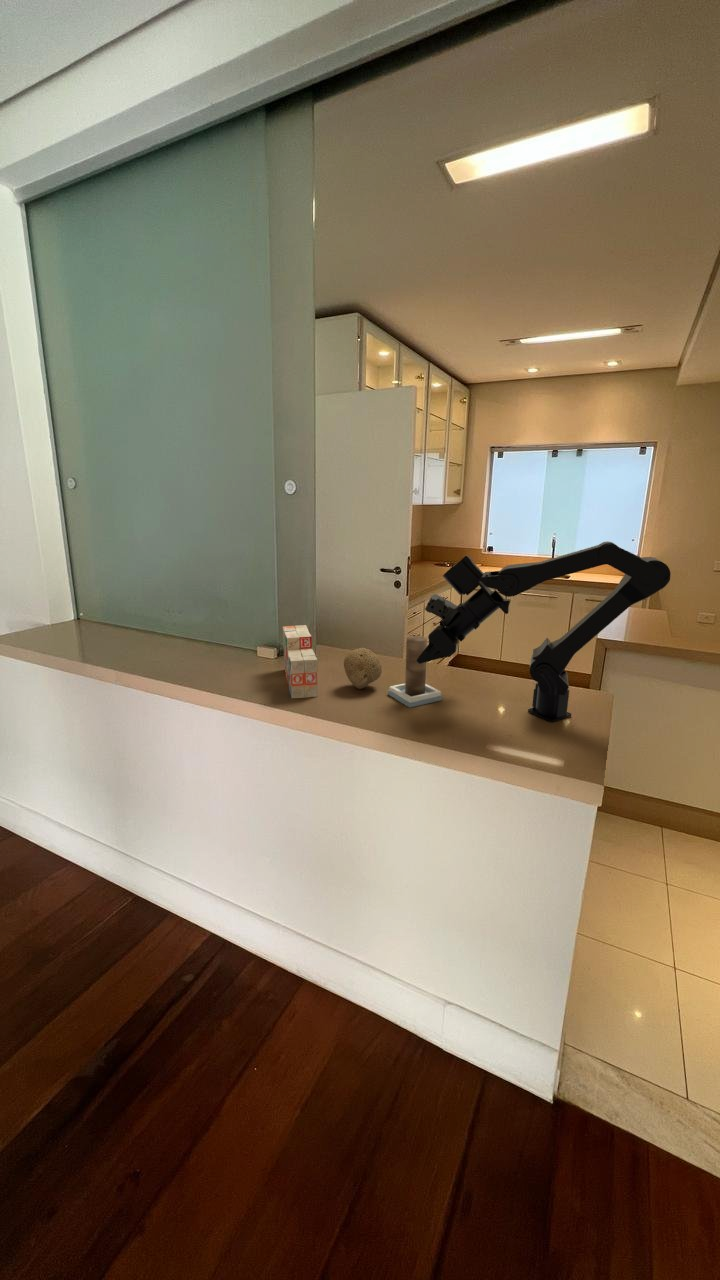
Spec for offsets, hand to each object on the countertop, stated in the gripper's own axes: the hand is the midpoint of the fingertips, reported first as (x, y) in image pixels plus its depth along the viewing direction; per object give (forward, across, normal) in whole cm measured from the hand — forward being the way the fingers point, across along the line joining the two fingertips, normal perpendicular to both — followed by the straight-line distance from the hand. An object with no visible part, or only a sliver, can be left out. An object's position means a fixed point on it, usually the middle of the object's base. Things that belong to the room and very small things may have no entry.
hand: (422, 655), depth 116 cm
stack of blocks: (+29, 0, -15) cm, 33 cm away
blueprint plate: (+8, 0, +6) cm, 10 cm away
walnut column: (+8, 0, +5) cm, 9 cm away
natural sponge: (+18, -2, -3) cm, 18 cm away
